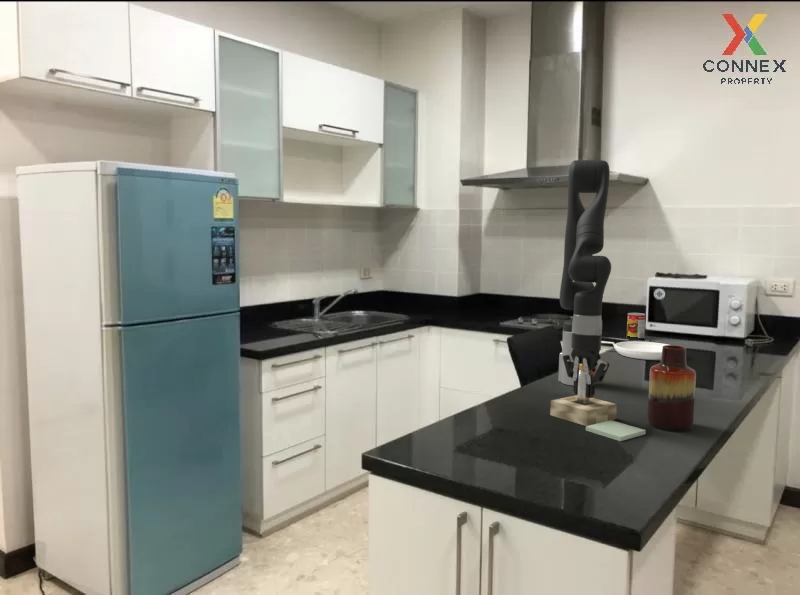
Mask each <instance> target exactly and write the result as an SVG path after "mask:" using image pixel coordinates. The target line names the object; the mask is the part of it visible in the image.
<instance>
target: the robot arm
mask: <svg viewBox="0 0 800 595" xmlns="http://www.w3.org/2000/svg"><path fill="white" fill-rule="evenodd" d="M610 174H611V173H610V165H609V163H608V162H607V160H603V159H575V160H573V161H572V162H570V166H569V169H568V178H567V180H568V181H567V186H568V187H567V214H566V215H567V216H566V225H565V233H564V244H563V246H564V249H563V251H564V253H563V268H562V274H561V276H562V277H561V282H560V289H559V304H560V307H561V308H562V309H564V310H567V311H568V310H569V311H572V310H573V317H572V318H571V319H567V320H564V322H563V325H562V344H561V345H562V348H561V349H562V350H561V352H559V357H558V379H557V380H558V382H560V383H561V384H563V385H568V386H573V387H572V388H573V389H572V390H573V393H574V396H575V395H577V392H578V366H579V363H583V364H584V370H585V375H586V377H587V383H588V384H586V398H594V396H595V395H596V394H595V393H596V384H599V383H603V381H604V378H605V376H606V374H607V372H608V369H609V367H610V362H605V361H604V360H602V359H601V354H600V353H601V352H600V351H601V349H602V343H601V341H602V336H603V335H602V333H603V320H602V313H603V312H602V310H603V298H604V292H605V290H606V287H607V283H608V280H609V279H610V274H611V272H612V263H611V261H610V259H609V258H608V257H607V256H605V255H597V254H599V253H600V252H602V251H603V249H604V245H605V244H604V243H605V242H604V238H605V236H604V235H605V231H604V229H605V228H604V225H605V214H606V209H607V203H608V195H609V186H610V185H609V184H610ZM580 193H582V194H596V195H595V197H594V199H593V201H592V202H591V203H590V204H589V205H588V206H587V208H586V209H585V207H584V204H583V203H582V201H581V200H582V199H581V198H580ZM590 370H591V372H590Z"/></svg>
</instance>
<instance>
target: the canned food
mask: <svg viewBox="0 0 800 595" xmlns="http://www.w3.org/2000/svg"><path fill="white" fill-rule="evenodd" d="M626 324H627V325H626V337H627V336H630V337H638V338H644V339H645V335H646V334H645V333H646V332H645V331H646V330H645V329H646V314H645V313H641V312H628V313H627V320H626Z"/></svg>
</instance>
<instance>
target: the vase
mask: <svg viewBox="0 0 800 595" xmlns="http://www.w3.org/2000/svg"><path fill="white" fill-rule="evenodd" d="M696 380H697V372H696V370H695V369H694V368H691V367H690V366H688V365H687V348H686V347H685V346H681V345H672V344H668V345H665V346H663V348H662V356H661V360H660V363H657V364H654V365H652V366H651V367H650V369H649V382H648V383H649V384H648V386H649V387H648V400H647V402H648V403H647V418H646V420H647V421H646V422H647V423H646V424H648V426H650V427H652V428H655V429H658V430H661V431H662V430H663V431H668V432H677V433H678V432H688V431H691V430H693V427H694V416H695V415H694V413H695V401H696V400H695V397H696V396H695V395H696Z"/></svg>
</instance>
